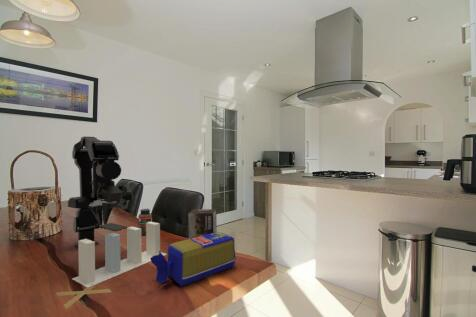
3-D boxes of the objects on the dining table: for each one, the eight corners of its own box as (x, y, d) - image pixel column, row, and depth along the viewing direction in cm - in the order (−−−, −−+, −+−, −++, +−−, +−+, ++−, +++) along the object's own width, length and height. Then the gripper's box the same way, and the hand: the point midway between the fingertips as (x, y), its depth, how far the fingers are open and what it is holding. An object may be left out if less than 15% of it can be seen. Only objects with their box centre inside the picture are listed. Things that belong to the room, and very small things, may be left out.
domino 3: (136, 264, 81) (135, 230, 81) (127, 260, 84) (126, 227, 84) (141, 261, 83) (141, 228, 83) (132, 258, 85) (132, 226, 85)
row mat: (71, 281, 71) (71, 278, 71) (151, 251, 94) (150, 249, 94) (87, 290, 66) (87, 287, 66) (167, 256, 89) (167, 254, 89)
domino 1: (87, 283, 68) (87, 243, 68) (78, 279, 71) (78, 240, 71) (95, 280, 70) (94, 241, 70) (86, 276, 73) (85, 238, 73)
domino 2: (114, 273, 75) (113, 236, 75) (105, 269, 77) (104, 233, 77) (120, 270, 76) (120, 234, 76) (111, 266, 79) (111, 232, 79)
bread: (239, 267, 80) (238, 235, 80) (165, 296, 64) (164, 255, 64) (220, 257, 88) (220, 228, 88) (150, 281, 72) (149, 245, 72)
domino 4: (155, 256, 87) (155, 224, 87) (146, 253, 90) (146, 222, 90) (160, 254, 89) (159, 223, 89) (151, 251, 92) (150, 221, 92)
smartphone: (115, 230, 120) (97, 226, 127) (115, 232, 120) (97, 227, 127) (129, 226, 126) (111, 222, 134) (129, 228, 126) (111, 224, 134)
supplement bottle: (139, 236, 112) (138, 211, 112) (137, 233, 117) (137, 208, 117) (152, 234, 114) (152, 209, 114) (151, 231, 120) (150, 207, 120)
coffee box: (217, 252, 92) (217, 208, 92) (214, 259, 86) (213, 212, 86) (193, 251, 93) (193, 208, 93) (188, 258, 87) (188, 212, 87)
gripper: (84, 181, 71) (85, 236, 71) (141, 176, 87) (142, 221, 87) (66, 180, 77) (67, 230, 77) (123, 175, 93) (123, 217, 93)
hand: (103, 224), depth 83 cm, fingers closed
